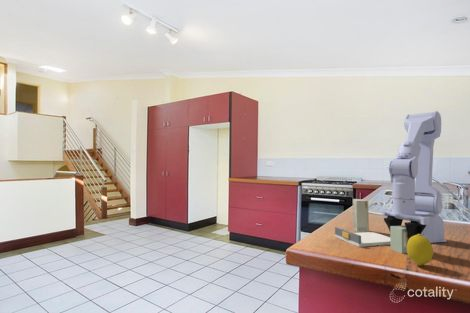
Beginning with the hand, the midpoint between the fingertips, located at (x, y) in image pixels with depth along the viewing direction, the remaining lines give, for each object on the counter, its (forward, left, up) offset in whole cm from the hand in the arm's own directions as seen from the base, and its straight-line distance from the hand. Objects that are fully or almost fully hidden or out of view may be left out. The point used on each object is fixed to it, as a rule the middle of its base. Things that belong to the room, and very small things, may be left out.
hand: (404, 244), depth 80 cm
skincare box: (-4, -23, -2) cm, 23 cm away
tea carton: (0, 0, -2) cm, 2 cm away
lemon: (+7, +11, -2) cm, 13 cm away
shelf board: (+3, -12, -2) cm, 13 cm away
